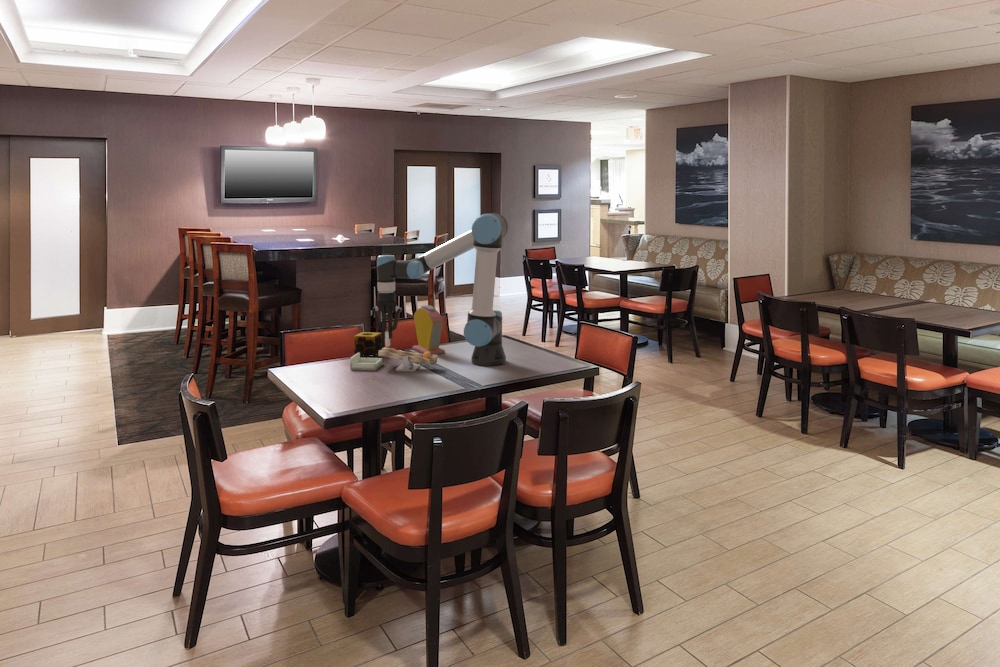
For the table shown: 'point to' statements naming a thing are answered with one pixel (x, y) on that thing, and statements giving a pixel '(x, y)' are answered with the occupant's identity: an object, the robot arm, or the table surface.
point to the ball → (427, 355)
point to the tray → (365, 363)
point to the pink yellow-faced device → (428, 330)
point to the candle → (368, 344)
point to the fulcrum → (407, 365)
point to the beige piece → (412, 356)
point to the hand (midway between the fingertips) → (387, 345)
